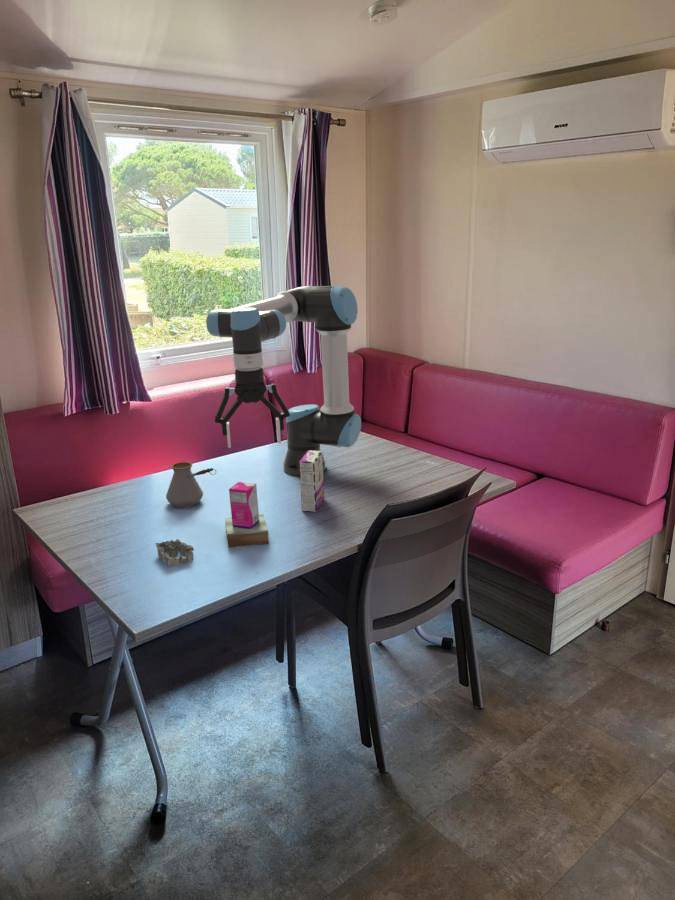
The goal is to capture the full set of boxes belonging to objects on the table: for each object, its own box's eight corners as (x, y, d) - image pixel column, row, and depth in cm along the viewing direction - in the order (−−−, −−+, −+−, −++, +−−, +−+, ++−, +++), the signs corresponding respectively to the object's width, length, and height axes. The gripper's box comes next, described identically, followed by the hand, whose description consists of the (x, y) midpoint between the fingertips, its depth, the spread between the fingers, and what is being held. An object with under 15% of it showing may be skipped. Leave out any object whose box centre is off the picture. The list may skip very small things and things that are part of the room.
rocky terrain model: (196, 562, 174) (195, 548, 172) (169, 570, 170) (167, 556, 168) (181, 547, 182) (180, 533, 181) (155, 554, 178) (153, 540, 177)
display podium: (226, 531, 191) (225, 518, 190) (264, 527, 193) (263, 514, 192) (228, 547, 181) (227, 534, 180) (268, 543, 183) (267, 530, 182)
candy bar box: (309, 498, 214) (307, 449, 209) (324, 499, 213) (323, 450, 208) (300, 511, 203) (298, 461, 198) (316, 512, 202) (314, 461, 197)
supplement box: (241, 518, 189) (238, 480, 186) (260, 521, 187) (257, 483, 184) (231, 526, 184) (228, 488, 181) (250, 529, 182) (247, 490, 179)
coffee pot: (159, 504, 211) (154, 459, 206) (188, 493, 219) (184, 450, 215) (202, 521, 198) (198, 474, 193) (231, 509, 206) (228, 463, 201)
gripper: (201, 374, 170) (208, 452, 177) (297, 367, 175) (301, 443, 182) (200, 368, 177) (208, 443, 184) (293, 361, 182) (297, 435, 189)
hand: (254, 444), depth 183 cm, fingers open, 13 cm apart
